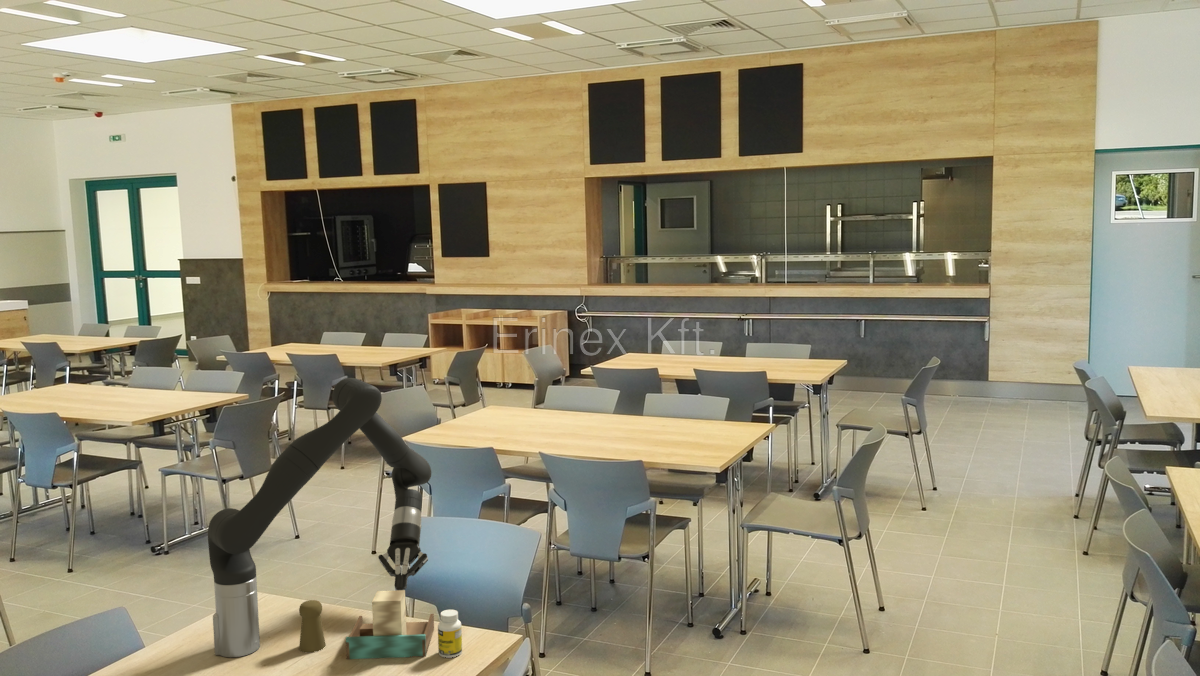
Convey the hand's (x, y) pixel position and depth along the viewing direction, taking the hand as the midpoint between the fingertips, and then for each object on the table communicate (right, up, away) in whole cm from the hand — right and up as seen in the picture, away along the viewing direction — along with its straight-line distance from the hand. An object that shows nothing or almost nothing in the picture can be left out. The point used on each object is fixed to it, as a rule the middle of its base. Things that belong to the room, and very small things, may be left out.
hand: (400, 590), depth 235 cm
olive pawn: (-18, -10, -14) cm, 24 cm away
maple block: (+1, -8, -16) cm, 17 cm away
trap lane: (+1, -9, -12) cm, 15 cm away
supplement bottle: (+15, -10, -18) cm, 26 cm away
